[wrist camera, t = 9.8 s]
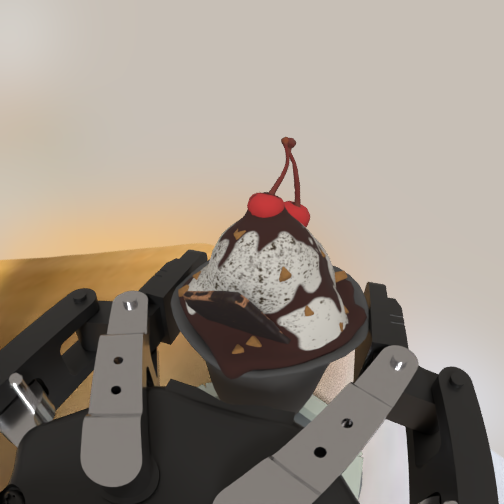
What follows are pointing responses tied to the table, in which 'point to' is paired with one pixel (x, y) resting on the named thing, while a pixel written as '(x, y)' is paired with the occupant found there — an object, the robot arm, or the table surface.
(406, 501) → the table surface
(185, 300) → the sundae
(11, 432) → the robot arm
